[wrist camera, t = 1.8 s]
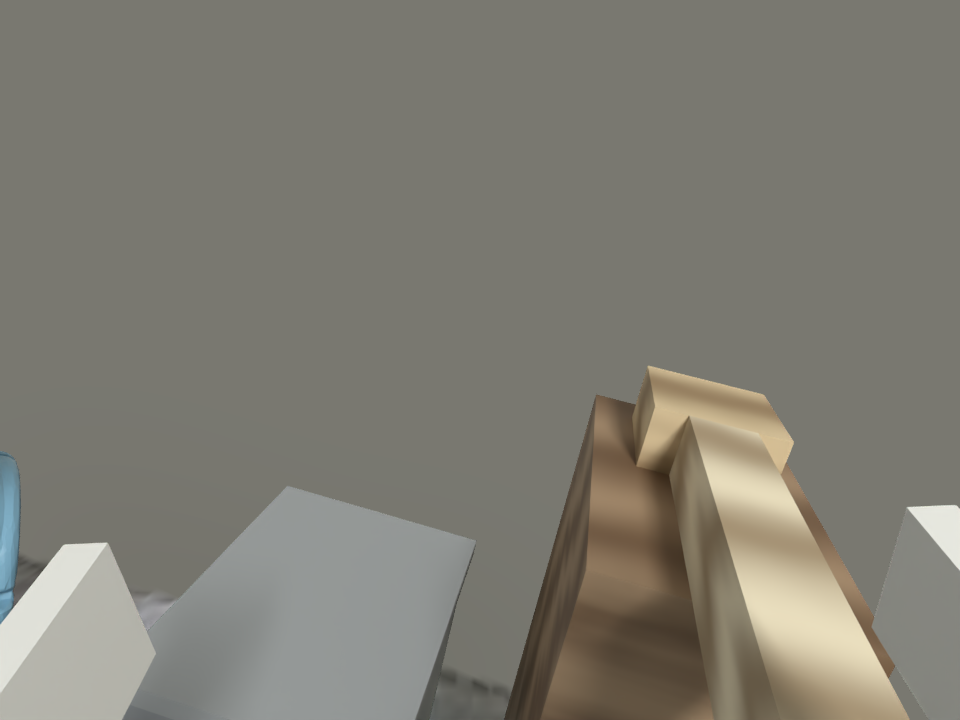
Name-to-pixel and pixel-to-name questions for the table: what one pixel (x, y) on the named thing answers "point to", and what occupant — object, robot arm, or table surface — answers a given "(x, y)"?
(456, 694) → the table surface
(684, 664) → the walnut pedestal
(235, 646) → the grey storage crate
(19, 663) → the robot arm
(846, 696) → the pale wooden bar
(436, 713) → the table surface
